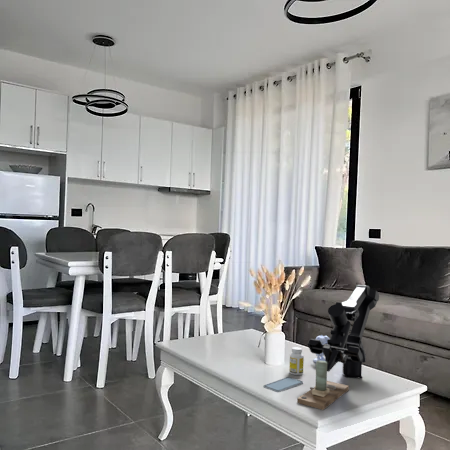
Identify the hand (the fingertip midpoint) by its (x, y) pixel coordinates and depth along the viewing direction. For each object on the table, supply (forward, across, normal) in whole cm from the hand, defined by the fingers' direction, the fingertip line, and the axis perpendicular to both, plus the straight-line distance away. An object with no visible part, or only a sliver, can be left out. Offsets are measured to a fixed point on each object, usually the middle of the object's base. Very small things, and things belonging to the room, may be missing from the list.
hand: (327, 370), depth 158 cm
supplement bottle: (-4, +18, -16) cm, 25 cm away
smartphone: (+7, +16, -5) cm, 18 cm away
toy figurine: (-20, +17, -31) cm, 41 cm away
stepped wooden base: (+7, 0, -5) cm, 8 cm away
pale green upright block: (+8, +1, -1) cm, 8 cm away
